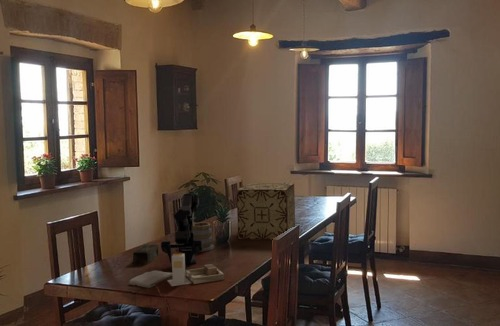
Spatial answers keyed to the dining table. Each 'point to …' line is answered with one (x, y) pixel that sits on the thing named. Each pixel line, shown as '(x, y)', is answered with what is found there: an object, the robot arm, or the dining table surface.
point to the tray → (203, 276)
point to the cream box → (178, 268)
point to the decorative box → (265, 210)
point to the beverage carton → (145, 254)
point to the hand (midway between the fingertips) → (180, 262)
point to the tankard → (203, 235)
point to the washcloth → (150, 278)
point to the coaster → (180, 283)
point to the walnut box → (210, 270)
